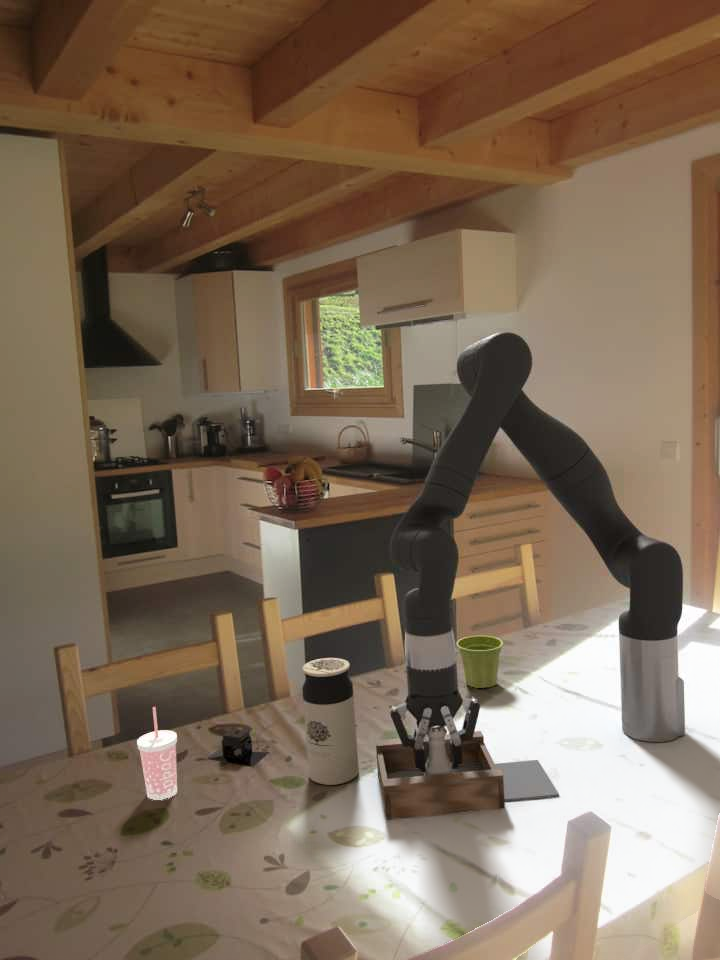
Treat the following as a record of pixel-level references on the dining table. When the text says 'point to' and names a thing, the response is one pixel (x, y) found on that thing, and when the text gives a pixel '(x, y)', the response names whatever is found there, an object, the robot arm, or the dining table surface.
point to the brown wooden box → (438, 781)
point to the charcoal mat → (526, 781)
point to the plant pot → (480, 659)
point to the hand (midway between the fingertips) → (438, 768)
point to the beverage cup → (159, 762)
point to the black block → (238, 749)
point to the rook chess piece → (437, 752)
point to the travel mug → (330, 721)
